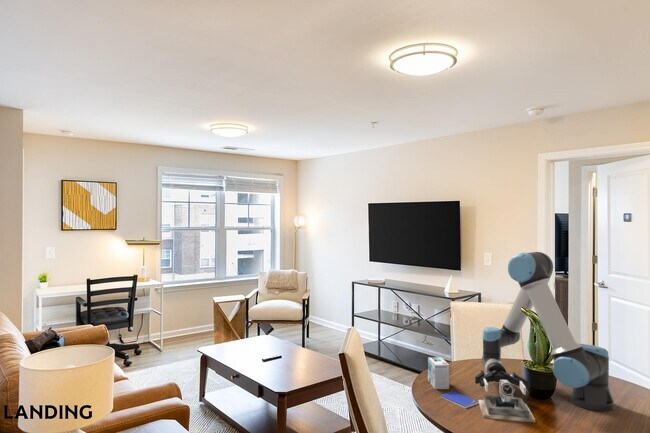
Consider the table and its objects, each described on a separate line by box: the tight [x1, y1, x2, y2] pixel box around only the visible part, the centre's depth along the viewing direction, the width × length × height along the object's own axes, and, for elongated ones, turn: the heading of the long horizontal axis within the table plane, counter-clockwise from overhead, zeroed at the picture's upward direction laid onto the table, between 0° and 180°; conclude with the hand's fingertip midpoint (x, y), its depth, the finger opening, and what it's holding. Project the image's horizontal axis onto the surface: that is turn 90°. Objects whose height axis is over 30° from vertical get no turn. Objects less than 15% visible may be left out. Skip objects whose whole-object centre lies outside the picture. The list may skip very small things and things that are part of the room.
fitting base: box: [477, 394, 536, 423], centre depth 166 cm, size 18×14×4 cm
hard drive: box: [440, 391, 479, 409], centre depth 177 cm, size 2×8×12 cm
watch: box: [496, 380, 516, 408], centre depth 166 cm, size 6×8×11 cm
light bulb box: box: [427, 356, 450, 390], centre depth 194 cm, size 11×7×11 cm, turn 3°
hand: (505, 389), depth 165 cm, fingers open, 13 cm apart
